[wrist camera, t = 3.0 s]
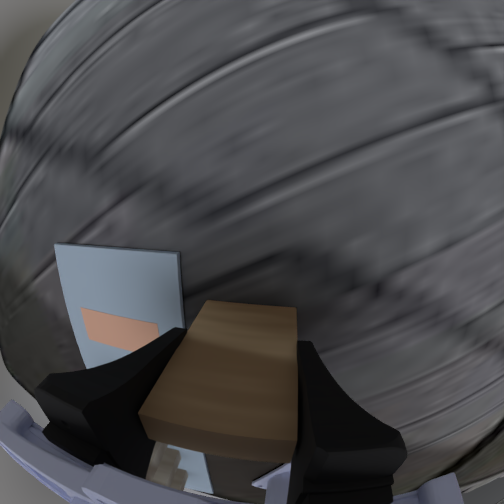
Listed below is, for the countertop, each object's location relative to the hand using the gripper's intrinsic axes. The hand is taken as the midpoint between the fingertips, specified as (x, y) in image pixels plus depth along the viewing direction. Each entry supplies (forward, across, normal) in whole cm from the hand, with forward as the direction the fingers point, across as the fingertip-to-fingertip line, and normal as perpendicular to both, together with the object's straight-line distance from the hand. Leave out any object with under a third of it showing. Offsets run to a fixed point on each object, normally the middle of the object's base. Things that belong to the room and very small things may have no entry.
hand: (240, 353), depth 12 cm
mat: (+3, +9, +12) cm, 16 cm away
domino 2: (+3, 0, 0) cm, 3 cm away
